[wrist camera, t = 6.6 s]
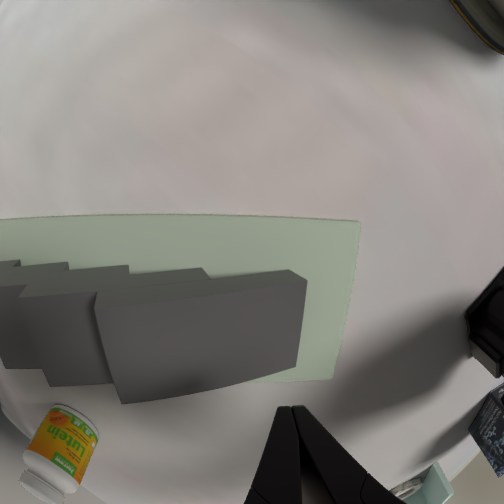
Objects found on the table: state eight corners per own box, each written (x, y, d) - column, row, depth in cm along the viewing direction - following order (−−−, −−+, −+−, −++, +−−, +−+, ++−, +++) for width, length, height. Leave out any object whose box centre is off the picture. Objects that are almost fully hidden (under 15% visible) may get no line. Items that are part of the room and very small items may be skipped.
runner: (357, 220, 14) (361, 222, 13) (330, 374, 16) (332, 379, 16) (-40, 222, 12) (-44, 224, 12) (-16, 329, 15) (-19, 331, 15)
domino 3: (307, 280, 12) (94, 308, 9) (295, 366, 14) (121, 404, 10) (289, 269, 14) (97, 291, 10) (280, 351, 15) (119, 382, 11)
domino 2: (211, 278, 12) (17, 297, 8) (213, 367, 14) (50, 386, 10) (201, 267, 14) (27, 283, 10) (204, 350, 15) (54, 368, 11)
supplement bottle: (105, 426, 18) (71, 510, 9) (95, 446, 19) (67, 516, 10) (54, 393, 17) (7, 469, 8) (50, 417, 18) (14, 482, 9)
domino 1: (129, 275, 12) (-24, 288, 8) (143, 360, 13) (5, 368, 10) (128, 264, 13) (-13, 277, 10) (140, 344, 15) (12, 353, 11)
